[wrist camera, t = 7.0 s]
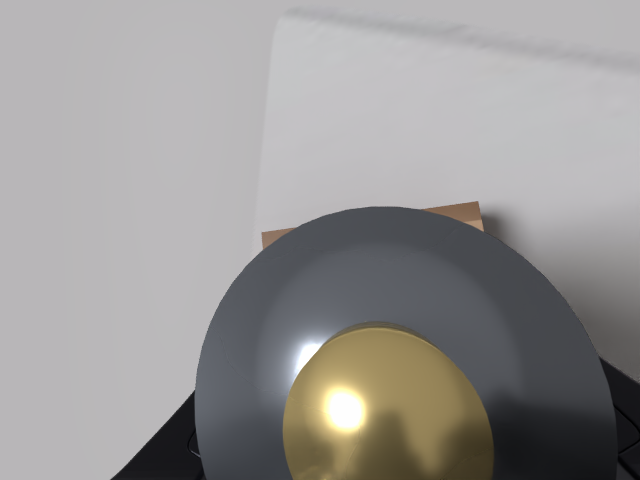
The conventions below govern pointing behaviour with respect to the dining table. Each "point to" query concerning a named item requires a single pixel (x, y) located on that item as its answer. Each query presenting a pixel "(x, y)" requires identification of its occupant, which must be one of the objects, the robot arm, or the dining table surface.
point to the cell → (399, 361)
